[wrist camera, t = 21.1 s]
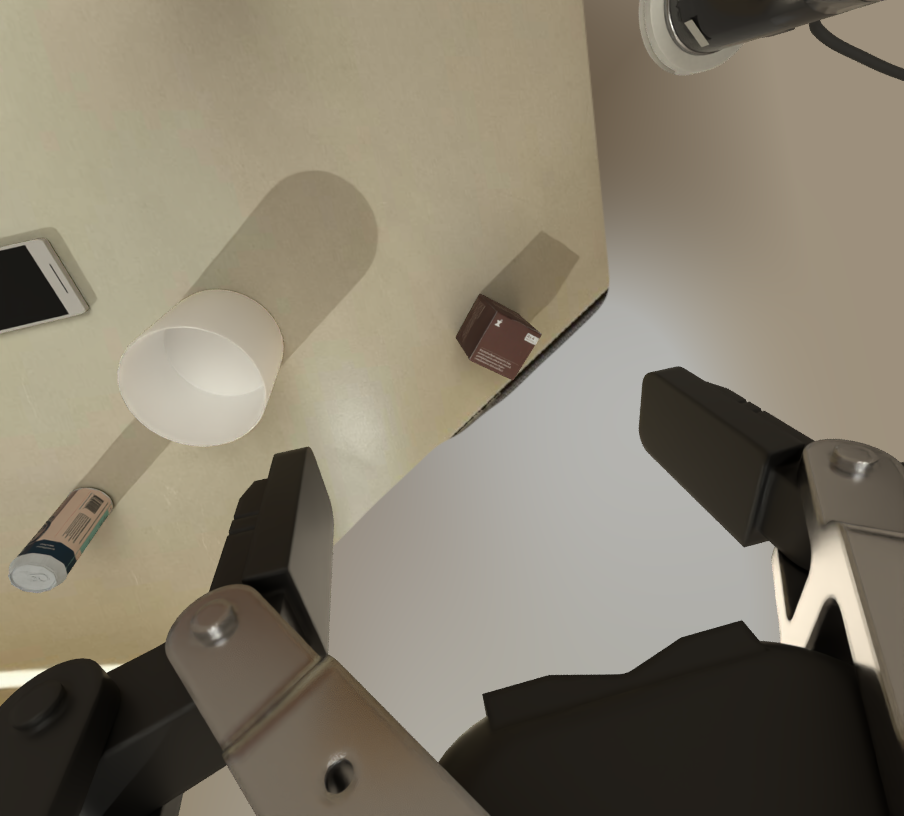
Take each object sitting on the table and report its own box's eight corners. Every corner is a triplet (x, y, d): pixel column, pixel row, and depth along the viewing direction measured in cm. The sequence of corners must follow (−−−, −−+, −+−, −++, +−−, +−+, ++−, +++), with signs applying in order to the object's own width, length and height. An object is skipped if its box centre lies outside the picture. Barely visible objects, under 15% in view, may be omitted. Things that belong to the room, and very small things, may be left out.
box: (453, 336, 55) (467, 359, 48) (479, 291, 53) (496, 309, 46) (495, 357, 57) (513, 381, 50) (521, 314, 55) (543, 334, 48)
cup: (143, 346, 48) (86, 396, 38) (209, 264, 46) (168, 294, 36) (242, 409, 54) (216, 468, 43) (306, 339, 51) (294, 384, 41)
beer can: (64, 484, 54) (-4, 562, 43) (110, 484, 55) (55, 560, 45) (73, 516, 56) (10, 597, 46) (118, 515, 57) (66, 594, 47)
